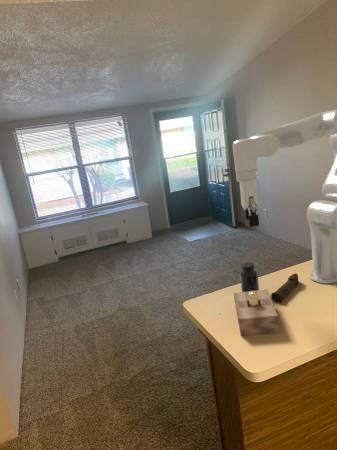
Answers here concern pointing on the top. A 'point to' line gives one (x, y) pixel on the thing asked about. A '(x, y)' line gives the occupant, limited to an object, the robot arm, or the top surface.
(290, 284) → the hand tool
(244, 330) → the hole block
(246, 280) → the supplement bottle
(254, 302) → the peg
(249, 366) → the top surface
